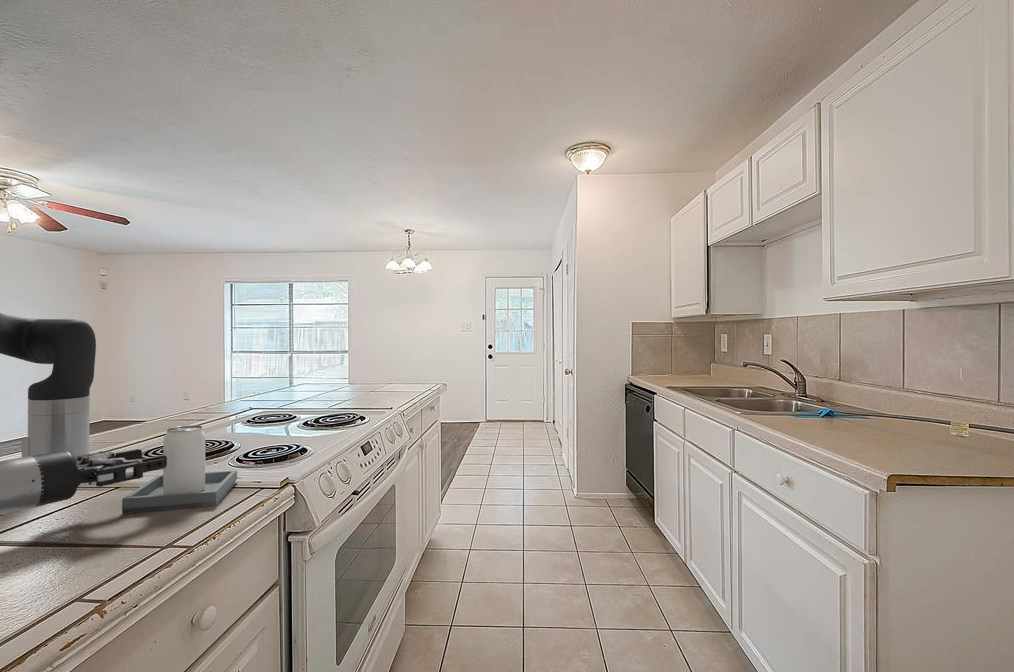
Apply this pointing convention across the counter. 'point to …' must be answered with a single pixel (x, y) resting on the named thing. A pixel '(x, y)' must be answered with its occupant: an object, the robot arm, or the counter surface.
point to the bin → (179, 494)
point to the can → (184, 460)
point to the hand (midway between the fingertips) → (152, 457)
